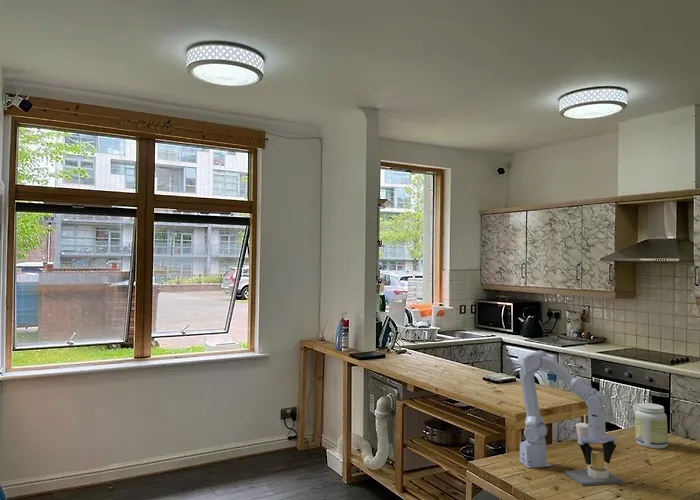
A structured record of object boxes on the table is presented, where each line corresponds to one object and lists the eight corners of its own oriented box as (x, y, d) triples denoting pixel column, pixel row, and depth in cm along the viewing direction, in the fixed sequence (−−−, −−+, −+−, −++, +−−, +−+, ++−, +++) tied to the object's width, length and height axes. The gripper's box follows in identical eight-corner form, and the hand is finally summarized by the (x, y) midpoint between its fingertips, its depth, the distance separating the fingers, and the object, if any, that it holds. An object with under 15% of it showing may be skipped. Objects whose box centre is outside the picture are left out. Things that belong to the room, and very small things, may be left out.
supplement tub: (670, 444, 227) (669, 405, 228) (664, 451, 218) (663, 410, 219) (639, 438, 235) (638, 400, 236) (632, 445, 226) (631, 406, 227)
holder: (582, 485, 184) (582, 475, 184) (564, 474, 194) (564, 464, 194) (623, 482, 186) (622, 472, 186) (603, 471, 197) (603, 461, 197)
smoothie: (594, 450, 220) (593, 417, 220) (578, 449, 221) (577, 416, 222) (590, 445, 226) (589, 413, 227) (574, 444, 227) (573, 412, 228)
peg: (596, 477, 188) (595, 455, 189) (589, 473, 192) (589, 451, 193) (606, 476, 189) (605, 454, 189) (599, 472, 193) (599, 450, 193)
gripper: (585, 430, 186) (586, 468, 186) (621, 427, 189) (622, 465, 188) (573, 424, 193) (574, 461, 193) (609, 422, 196) (610, 458, 195)
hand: (597, 463), depth 191 cm, fingers open, 7 cm apart
